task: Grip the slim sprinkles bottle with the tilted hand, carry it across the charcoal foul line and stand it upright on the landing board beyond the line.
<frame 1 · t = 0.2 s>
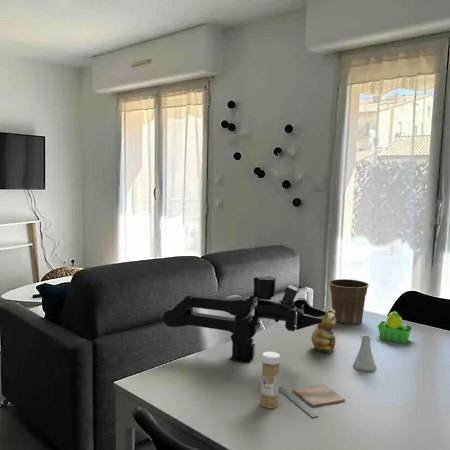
hand: (323, 317, 146), 17 cm above the table, tool horizontal, fingers open, 9 cm apart
fruit basket: (393, 340, 179), on the table
flask: (364, 368, 151), on the table
decorative figurine: (322, 350, 166), on the table
sprinkles bottle: (269, 405, 124), on the table
plant pot: (346, 321, 202), on the table
foul line: (295, 401, 126), on the table
landing board: (318, 396, 129), on the table
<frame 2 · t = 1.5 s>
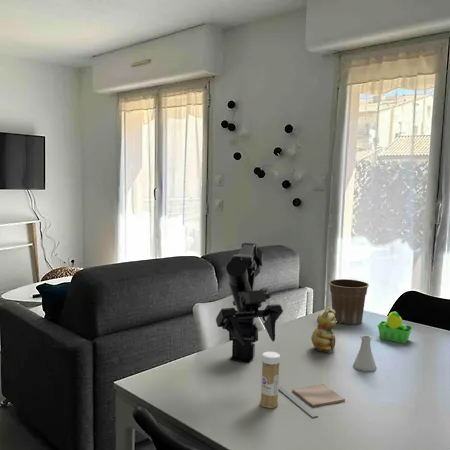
hand: (259, 342, 130), 14 cm above the table, tool tilted 45°, fingers open, 9 cm apart
nothing on the table moved.
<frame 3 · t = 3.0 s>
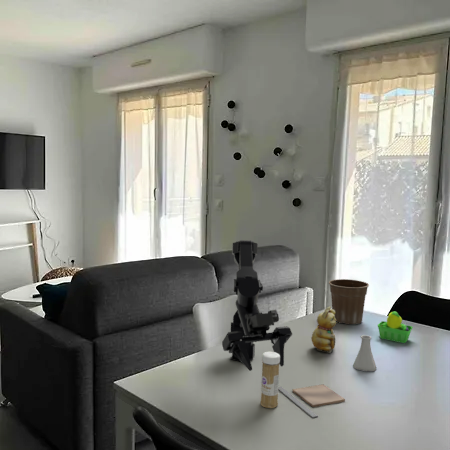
hand: (266, 368, 124), 9 cm above the table, tool tilted 45°, fingers open, 9 cm apart
nothing on the table moved.
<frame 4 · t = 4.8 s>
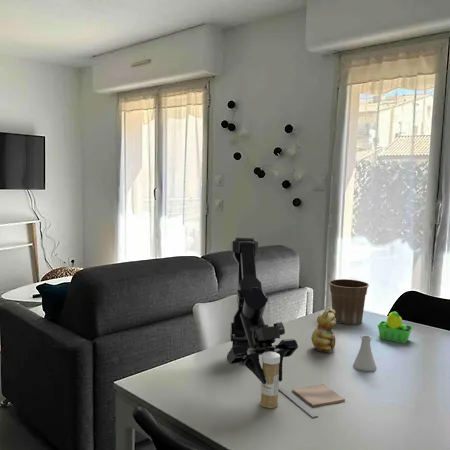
hand: (272, 382, 122), 7 cm above the table, tool tilted 45°, fingers closed on sprinkles bottle, 4 cm apart
sprinkles bottle: (269, 405, 124), on the table, touching gripper
everything else where it was.
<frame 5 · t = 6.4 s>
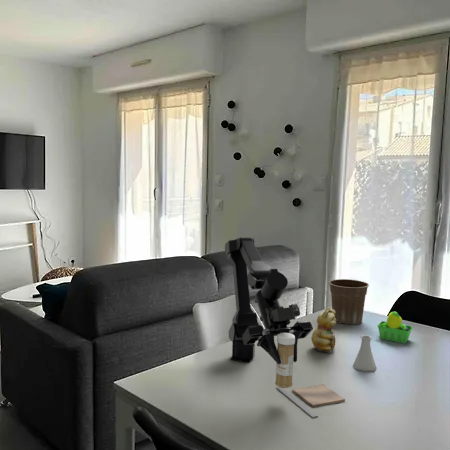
hand: (287, 362, 123), 11 cm above the table, tool tilted 45°, fingers closed on sprinkles bottle, 4 cm apart
sprinkles bottle: (283, 385, 125), point 4 cm above the table, touching gripper
everything else where it was.
when the fingers open (8 cm above the table, at t = 8.1 s): sprinkles bottle drops 1 cm, resting on landing board.
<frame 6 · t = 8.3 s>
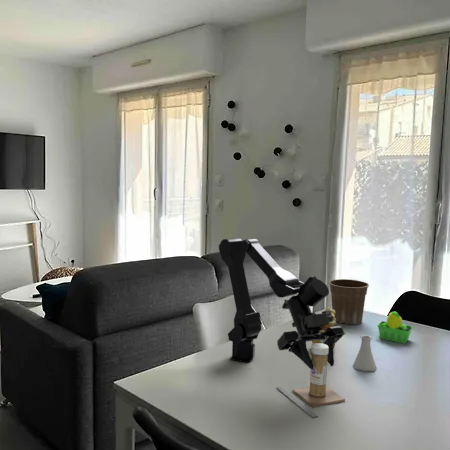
hand: (322, 367, 127), 9 cm above the table, tool tilted 45°, fingers open, 6 cm apart
sprinkles bottle: (317, 394, 129), resting on landing board
everything else where it was.
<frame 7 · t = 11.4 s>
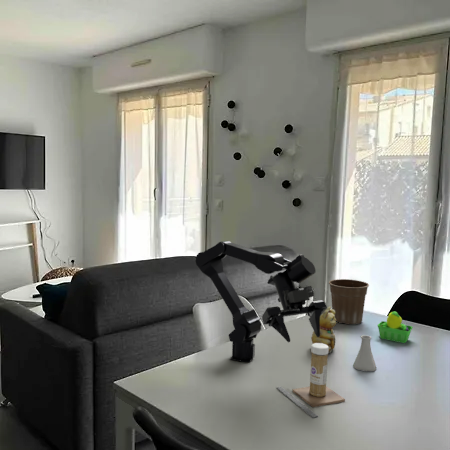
hand: (304, 339, 135), 13 cm above the table, tool tilted 40°, fingers open, 9 cm apart
nothing on the table moved.
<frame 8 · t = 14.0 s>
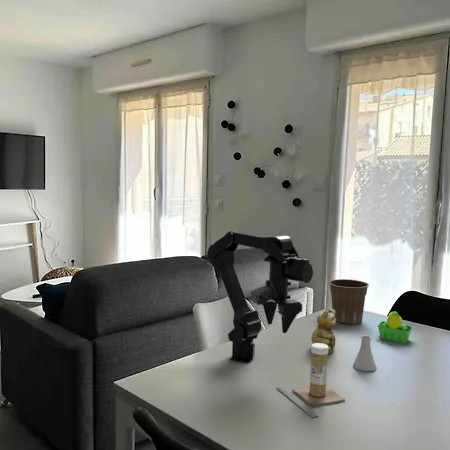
hand: (276, 328, 146), 13 cm above the table, tool pointing down, fingers open, 9 cm apart
nothing on the table moved.
at the end: sprinkles bottle inside the target area on the landing board (0.2 cm from its centre), point 0.4 cm above the landing board's base; sprinkles bottle tilted 0°; the gripper is holding nothing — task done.
